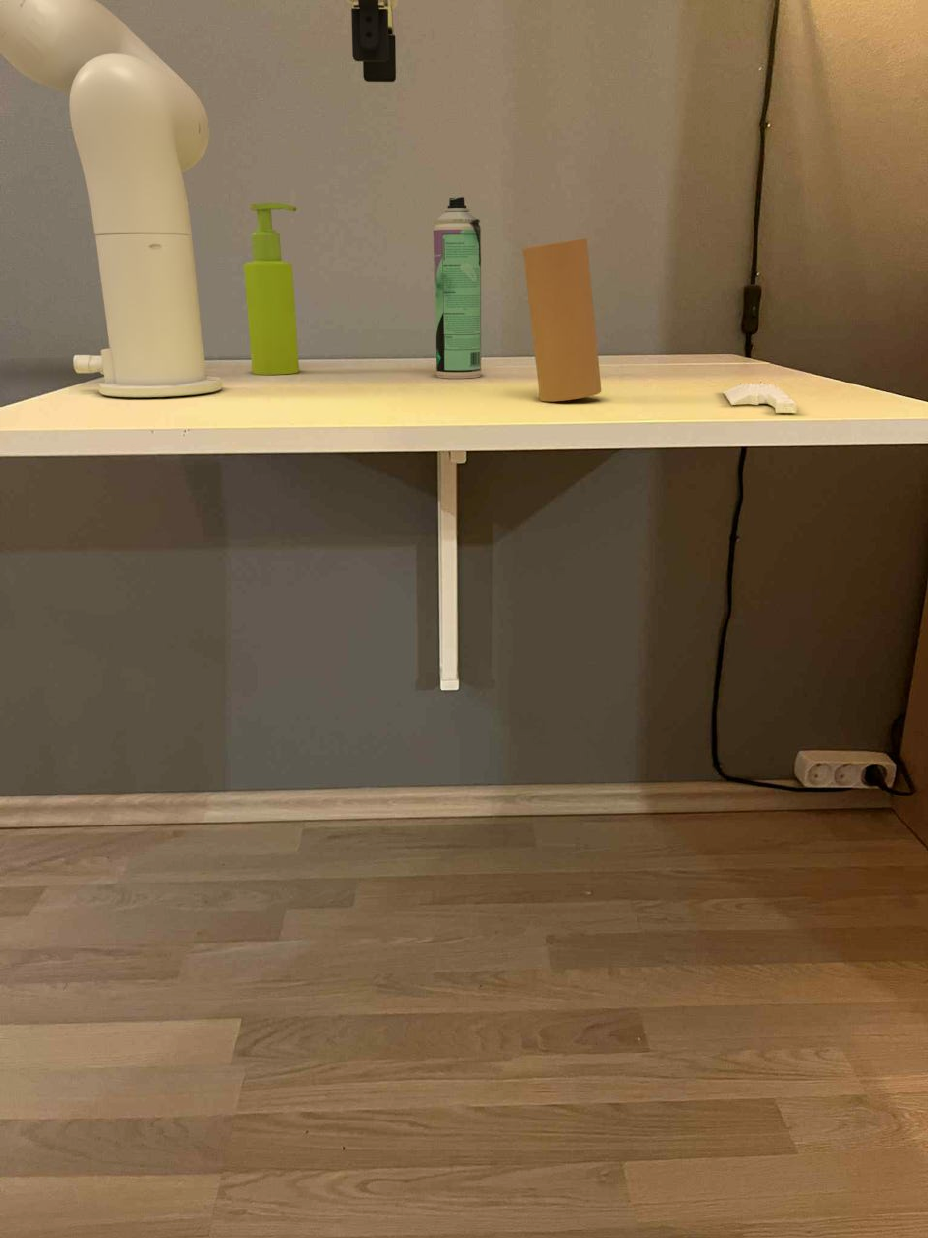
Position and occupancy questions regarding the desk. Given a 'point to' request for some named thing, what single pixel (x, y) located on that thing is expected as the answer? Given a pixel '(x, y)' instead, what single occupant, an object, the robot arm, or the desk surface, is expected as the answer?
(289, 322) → the soap dispenser
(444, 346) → the spray can
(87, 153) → the robot arm
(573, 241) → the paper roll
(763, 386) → the white curved arc piece
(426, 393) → the desk surface
